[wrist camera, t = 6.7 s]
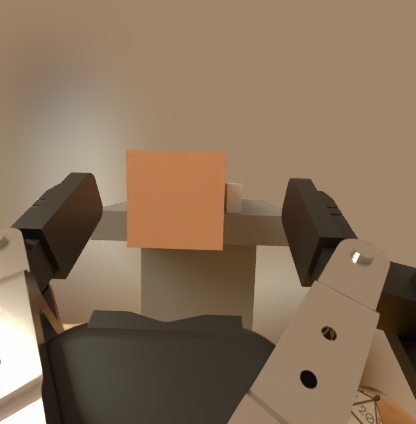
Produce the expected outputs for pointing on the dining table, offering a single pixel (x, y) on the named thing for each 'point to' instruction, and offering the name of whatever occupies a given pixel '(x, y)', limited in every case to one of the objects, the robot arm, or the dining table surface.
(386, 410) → the dining table surface
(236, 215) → the stand
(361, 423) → the game die
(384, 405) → the dining table surface
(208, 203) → the bar
